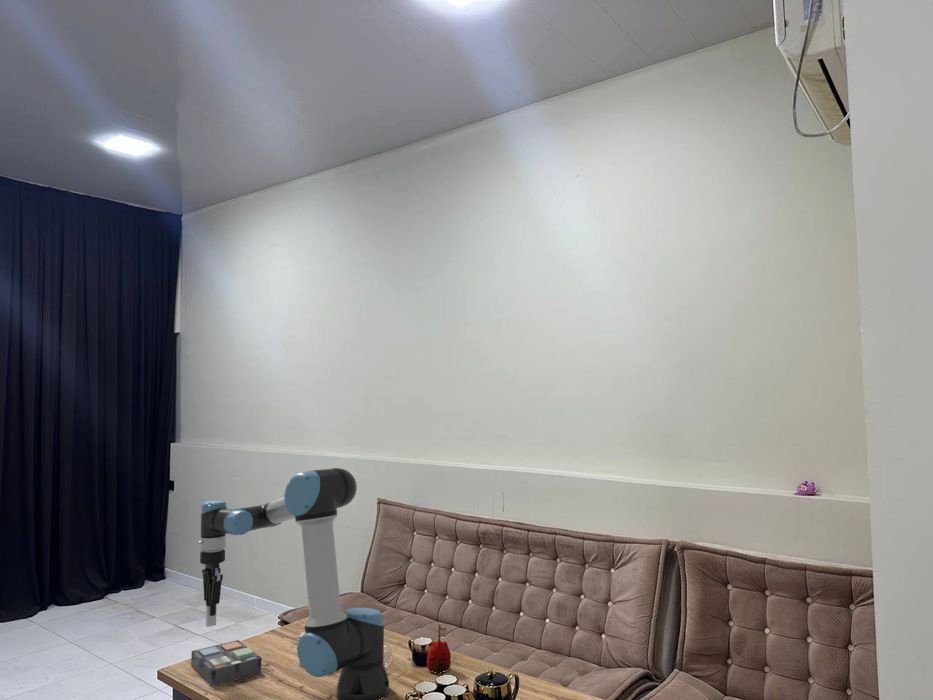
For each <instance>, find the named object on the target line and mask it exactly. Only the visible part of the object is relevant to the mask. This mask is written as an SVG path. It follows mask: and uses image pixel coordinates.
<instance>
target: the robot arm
mask: <svg viewBox="0 0 933 700" xmlns="http://www.w3.org/2000/svg"><path fill="white" fill-rule="evenodd" d="M357 485H358V484H357V481H356V477H354V475H353V474H352V473H351V472H350V471H348V470H346V469H344V468H339V467H338V468H337V467H333V468H325V469H314V470H305V471H302V472H298V473H296V474H294V475H293V476H292V477H291V478H290V479H289V481H288V482H287V484H286V486H285V490H284V496H283V497H281V498H277V499H275V500H273V501H270V502H267V503H264V504H261V505H254V506H248V507H247V506H246V507H240V508H234V509H232V508H227V502H226V501H225V500H209V501H204V502H203V503H202V506H201V514H200V540H199V541H198V544H199V545H200V550H201V551H200V553H199V555H200V556H199V563H200V564H201V565H205V566H204V567H205V568H203V569H202V571H201V573H202V585H203V600H204V601H205V606H206V607H205V609H206V610H205V611H206V612H205V613H206V614H205V626H206V627H207V628H209V627H213V626H217V609H218V608H217V607H218V605H219V604H220V600H221V599H220V598H221V590H222V581H223V578H224V575H223V574H221V568H220V564H221V563H224V562H225V561H226V550H225V548H226V542H227V540H226V539H227V535H230V536H231V535H232V536H243V535H245V534H247V533H248V532H251V531H256V530H260V529H264V528H265V529H266V528H273V527H277V526H279V525H281V524H282V523H284V522H286V521H290V520H292V519H295V523H297V524H298V526H300V528H301V534H302V535H301V536H302V537H301V538H302V545H303V547H302V548H303V558H304V559H303V560H304V569H305V581H306V592H307V593H306V594H307V604H308V613H309V614H308V615H309V617H307V619H306V621H305V622H304V625H303V626H304V631H305V634H304V635H303V636H302V637H301V638H300V639H299V640H298V642H297V645H296V651H297V652H296V653H297V657H298V661H300V663H301V665H302V666H301V667H302V668H303V669H305V671H306V673H307V674H308V675H311V676H312V677H315V678H323V677H325V676H328V675H333V674H334V673H335V672H337V671H339V670H341V672H340V674H339V678H338V681H337V685H336V689H335V690H336V691H335V692H336V694H335V695H336V698H337V699H338V700H379V699H381V698H383V697H385V696H386V695H387V694H388V693H389V694H390V680H389V677H388V674H387V670H386V667H385V662H384V656H385V655H384V651H385V650H384V645H385V643H384V642H385V621H384V615H383V612H382V611H380V610H378V609H375V608H369V607H352V608H347V609H345V610H344V611H342V607H341V596H340V585H339V574H338V565H337V556H336V555H337V554H336V546H335V545H336V544H335V534H334V524H333V523H334V521H335V520H336V518H337V516H338V509H339V508H343V507H345V506H347V505H348V504H350V503H351V502H352V501H353V500H354V498H355V496H356V493H357V489H358V488H357V487H358V486H357ZM226 534H227V535H226ZM389 694H388V695H389ZM388 695H387V696H388ZM387 696H386V697H387ZM386 697H385V698H386ZM383 699H384V698H383Z"/></svg>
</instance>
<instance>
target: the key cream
mask: <svg viewBox="0 0 933 700" xmlns="http://www.w3.org/2000/svg"><path fill="white" fill-rule="evenodd" d="M209 663H210V664H211V665H212V666H213V667H216V666H220V665H224V664H229V663H231V660H230V659H229V658H228V657H226V656H223V657H219V658H215V659H211V660H209Z"/></svg>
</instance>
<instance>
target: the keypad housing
mask: <svg viewBox="0 0 933 700" xmlns="http://www.w3.org/2000/svg"><path fill="white" fill-rule="evenodd" d="M232 642H238V643H239V644H240V645H242V648H239V649H243V648H247V647H248V646H247V645H246V644H245V643H243V642H242V641H241V640H239V639H236V640H232V641H229V642H228V641H227V642H224V643H220V644H216V645H211V646H208V647H204V648H203V647H202V648H198V649H194V650H191V659H190V661H191V662H190V665H191V667H192V668H193V669H194V670H195V671H196V673H197V674H198V675H200V677H201V678H202V679H203V680H204V681H205V682H207V684H208V683H209V684H210V685H211V686H212V687H214V686H213V685H216V686H219V685H222V684H221V683H223V684H226V683H229V682H228V681H230V682H233V681H236V680H235V679H237V680H240V679H239V678H241V679H243V677H244V678H247V677H246V676H248V677H251V676H254V675H253V674H255V675H258V674H261V673H262V657H261V656H260V655H259V654H257V653H256V652H255V651H253V652H254V657H250V658H247V659H244V660H239V661H236V660H235V659H234V658H233V657H232V651H235V650H239V649H235V650H231V651H227V652H226V651H224V650H223V649H222V648H221V645H224V644H228V643H232ZM212 647H216V648H217V649H218V650H219V651H220V653H219V654H215V655H211V656H207V657H202V656H201V655H200V654H199V650H203V649H207V648H212ZM223 656H226V657H228V658H229V659H230V660H231V663H229V664H224V665H220V666H216V667H213V666H212V665H211V664H210V663H209V660H211V659H215V658H219V657H223ZM250 675H251V676H250ZM232 680H233V681H232ZM225 682H226V683H225ZM209 684H208V685H209ZM218 684H219V685H218ZM211 686H210V687H211Z"/></svg>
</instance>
